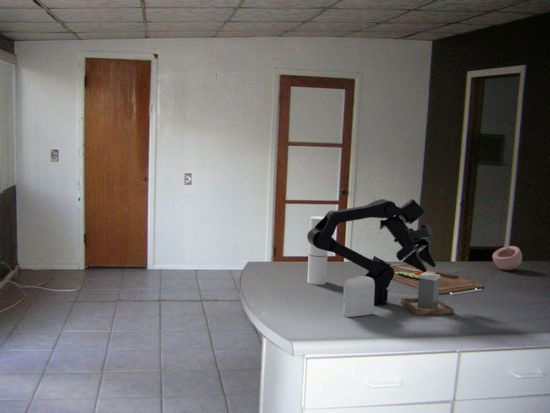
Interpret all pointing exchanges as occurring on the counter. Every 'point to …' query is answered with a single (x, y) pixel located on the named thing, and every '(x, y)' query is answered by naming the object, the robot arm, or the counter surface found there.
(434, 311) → the walnut tray
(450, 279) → the chopping board
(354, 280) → the white tombstone-shaped block
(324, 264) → the cylindrical container
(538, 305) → the counter surface
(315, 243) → the robot arm
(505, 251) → the pink round bowl
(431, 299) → the grey upright rectangular prism
